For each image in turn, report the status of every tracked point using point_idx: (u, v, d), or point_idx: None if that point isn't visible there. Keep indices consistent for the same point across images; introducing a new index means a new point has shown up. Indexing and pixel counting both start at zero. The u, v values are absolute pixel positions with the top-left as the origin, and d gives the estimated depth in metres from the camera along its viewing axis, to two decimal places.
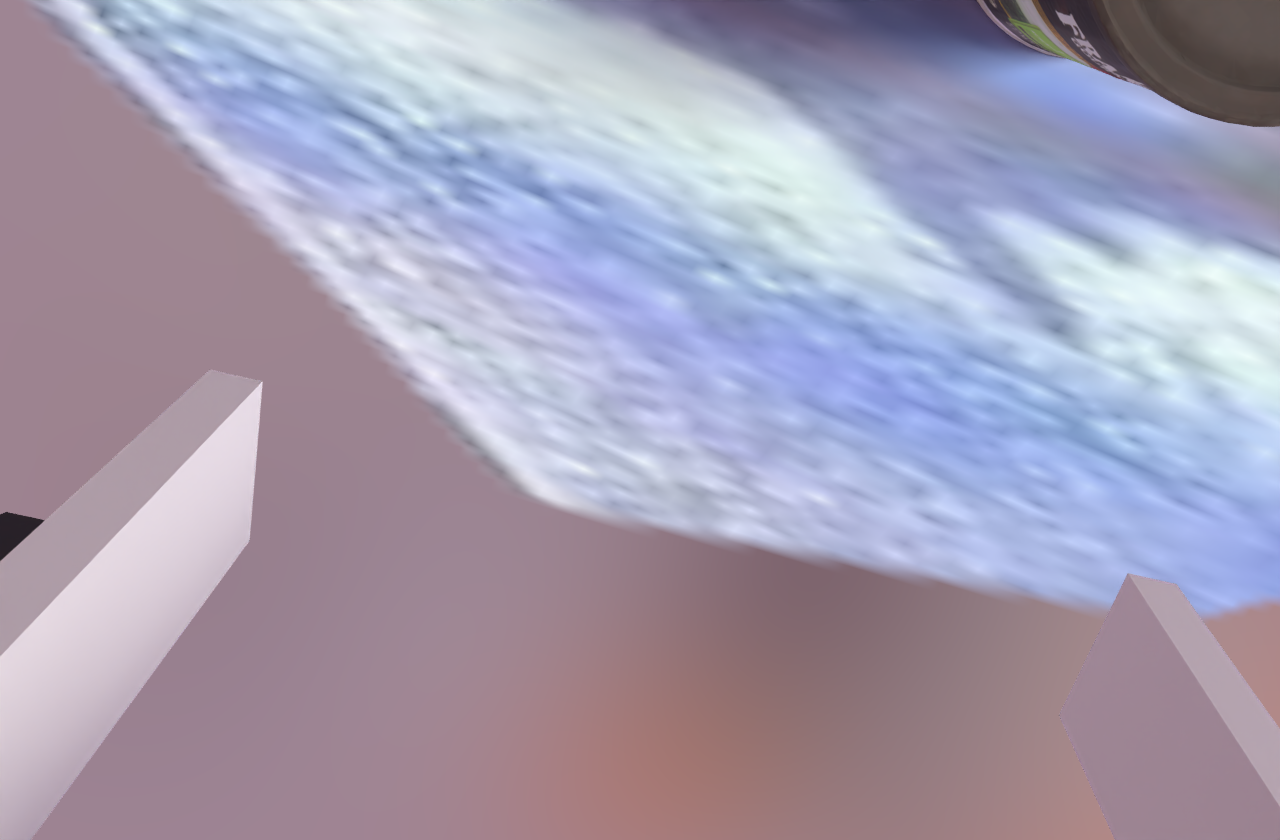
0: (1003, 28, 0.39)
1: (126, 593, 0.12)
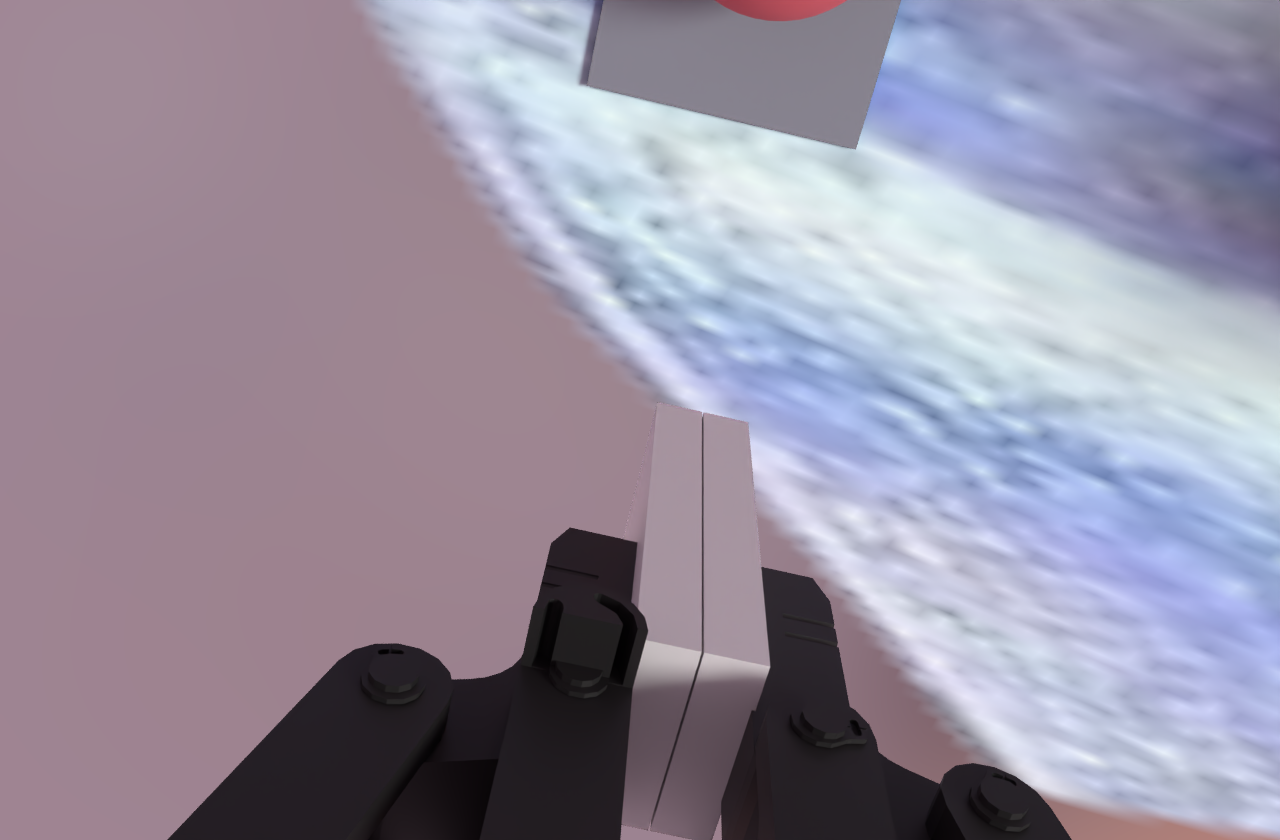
0: None
1: None
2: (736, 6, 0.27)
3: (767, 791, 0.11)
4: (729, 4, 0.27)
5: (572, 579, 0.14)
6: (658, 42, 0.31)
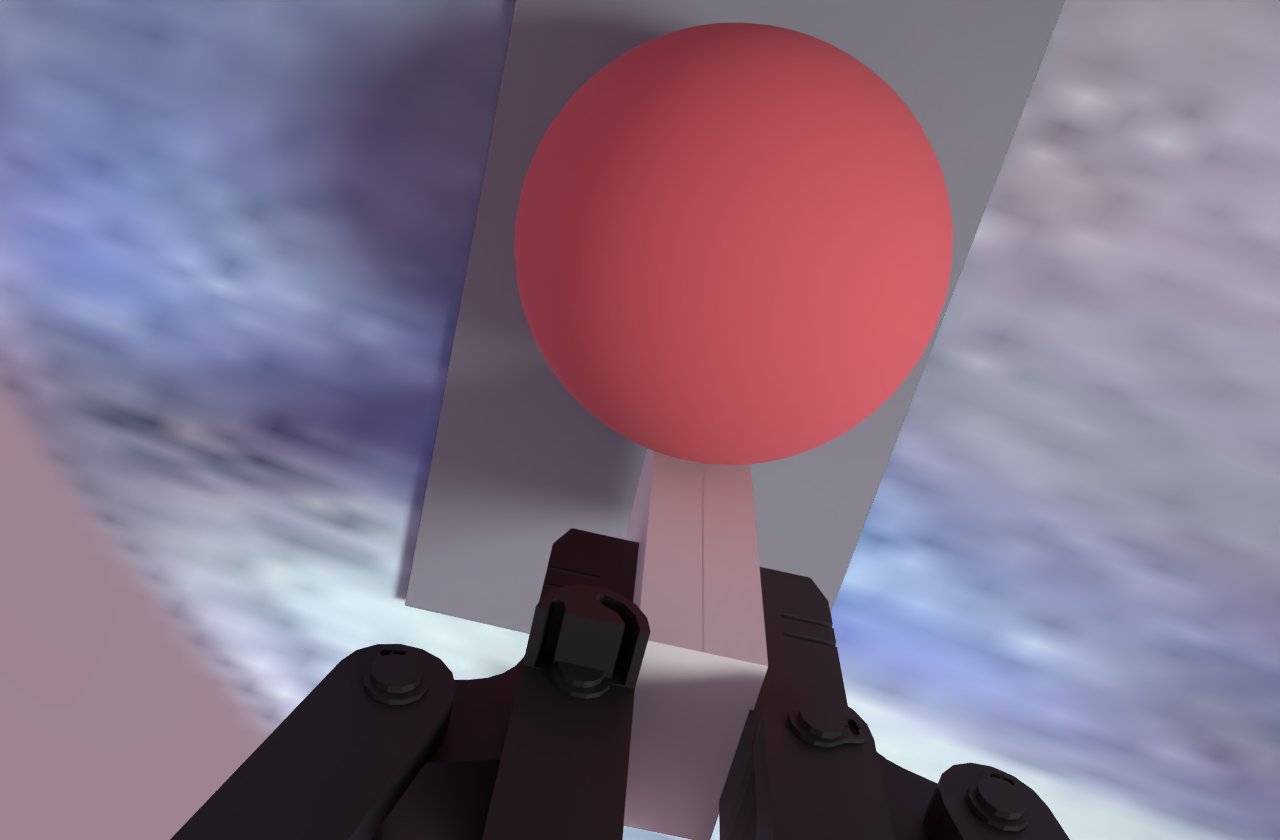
0: None
1: None
2: (665, 393, 0.13)
3: (765, 790, 0.11)
4: (650, 392, 0.13)
5: (574, 580, 0.14)
6: (507, 557, 0.21)
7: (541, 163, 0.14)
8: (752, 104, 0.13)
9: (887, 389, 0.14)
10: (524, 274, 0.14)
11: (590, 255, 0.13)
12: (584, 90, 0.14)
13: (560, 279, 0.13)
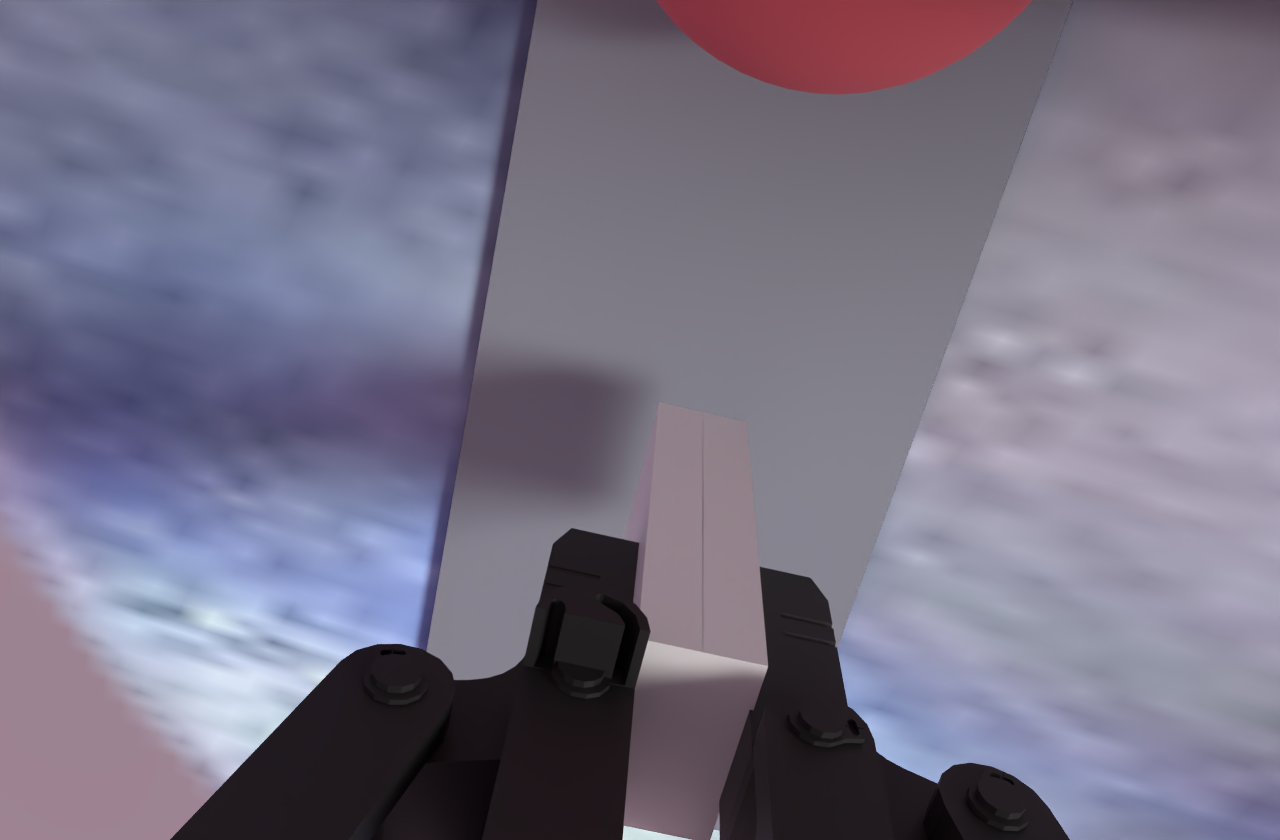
0: None
1: None
2: None
3: (765, 790, 0.11)
4: None
5: (574, 580, 0.14)
6: None
7: None
8: None
9: None
10: None
11: None
12: None
13: None
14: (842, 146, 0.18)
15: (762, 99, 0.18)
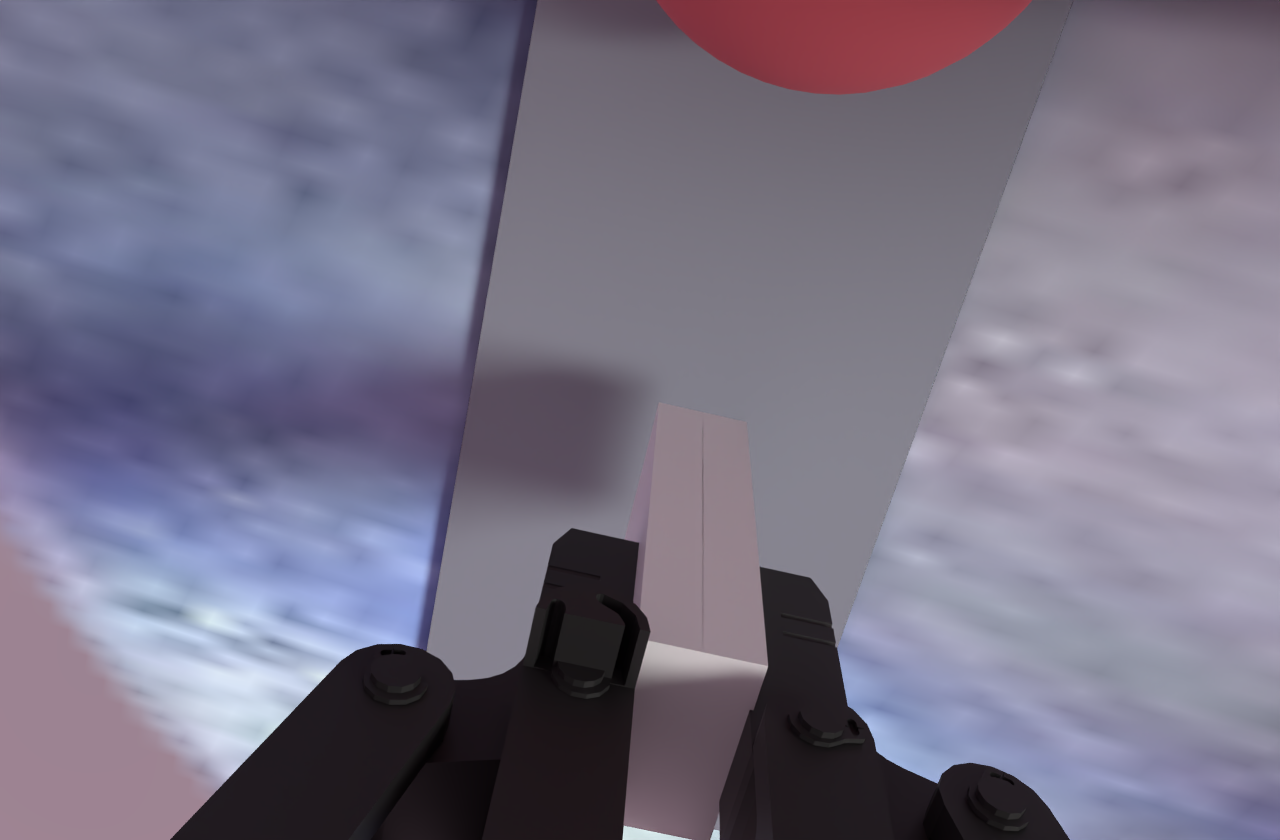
0: None
1: None
2: None
3: (765, 790, 0.11)
4: None
5: (574, 579, 0.14)
6: None
7: None
8: None
9: None
10: None
11: None
12: None
13: None
14: (842, 146, 0.18)
15: (762, 99, 0.18)
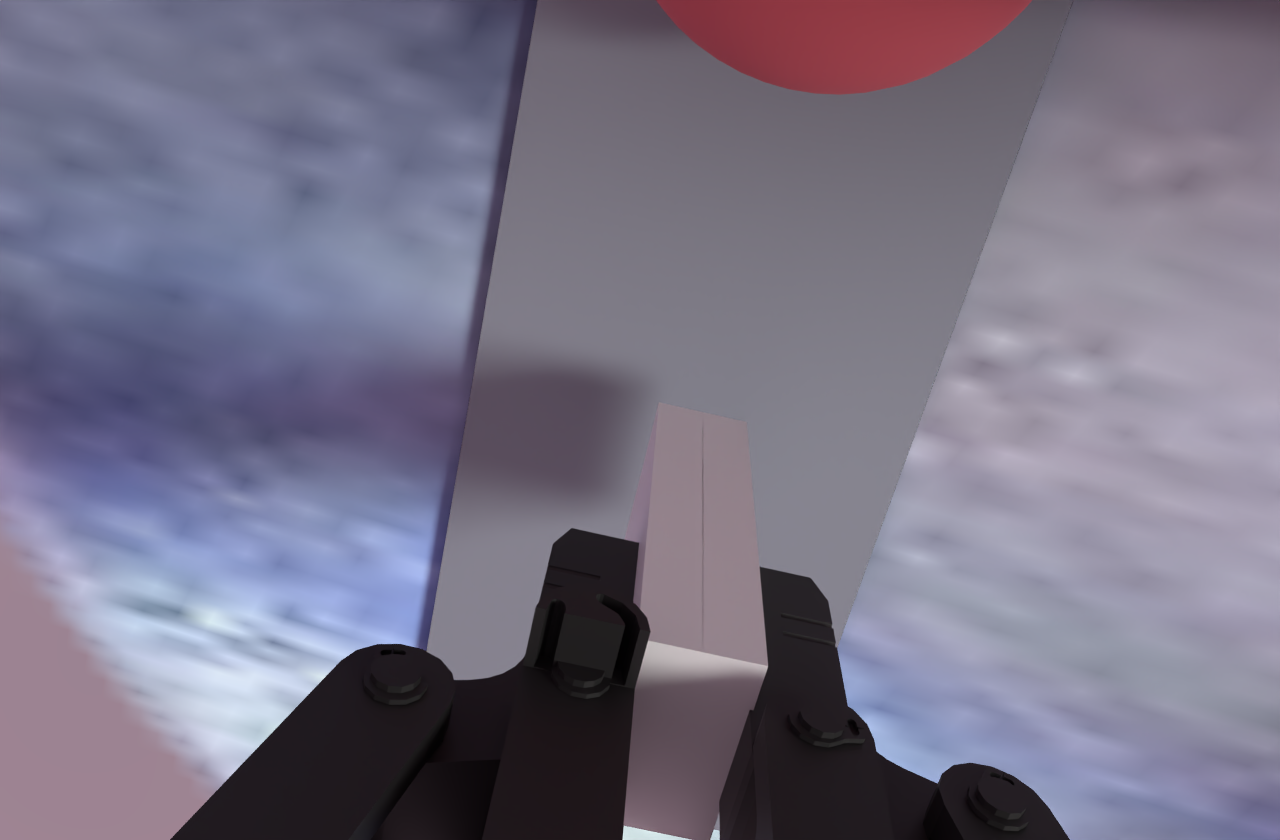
0: None
1: None
2: None
3: (765, 790, 0.11)
4: None
5: (574, 579, 0.14)
6: None
7: None
8: None
9: None
10: None
11: None
12: None
13: None
14: (842, 146, 0.18)
15: (762, 99, 0.18)
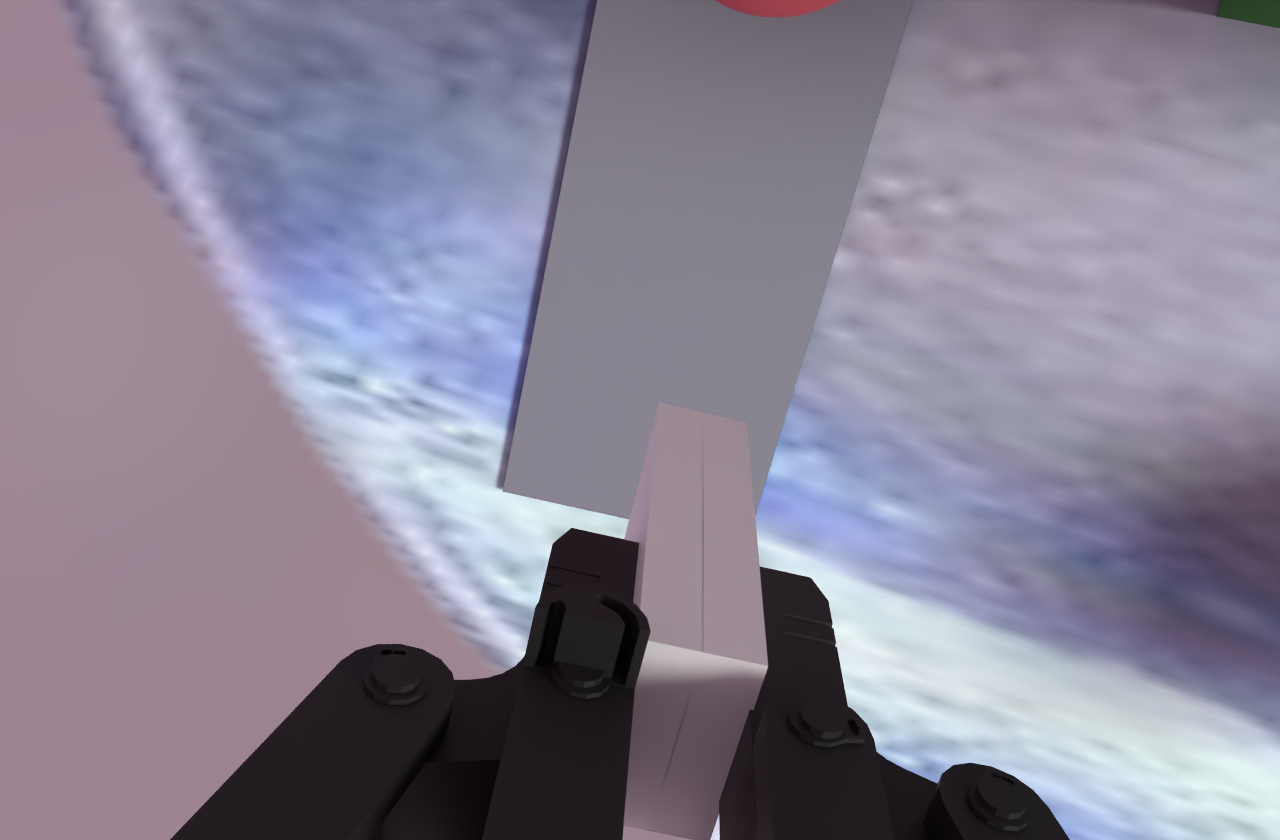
0: None
1: None
2: None
3: (766, 791, 0.11)
4: None
5: (574, 579, 0.14)
6: (565, 459, 0.34)
7: None
8: None
9: None
10: None
11: None
12: None
13: None
14: (787, 58, 0.29)
15: (738, 29, 0.29)
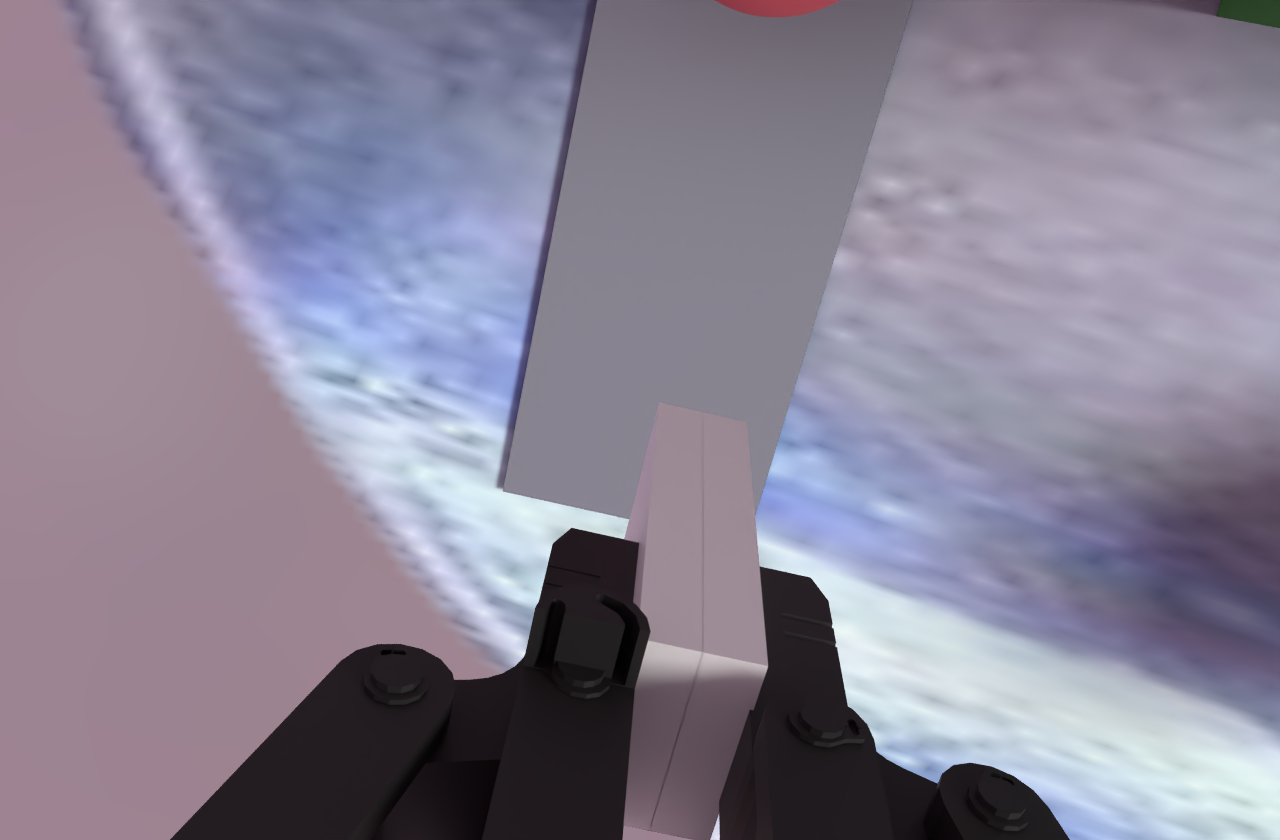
0: None
1: None
2: None
3: (766, 790, 0.11)
4: None
5: (574, 579, 0.14)
6: (565, 459, 0.34)
7: None
8: None
9: None
10: None
11: None
12: None
13: None
14: (787, 58, 0.29)
15: (738, 28, 0.29)
